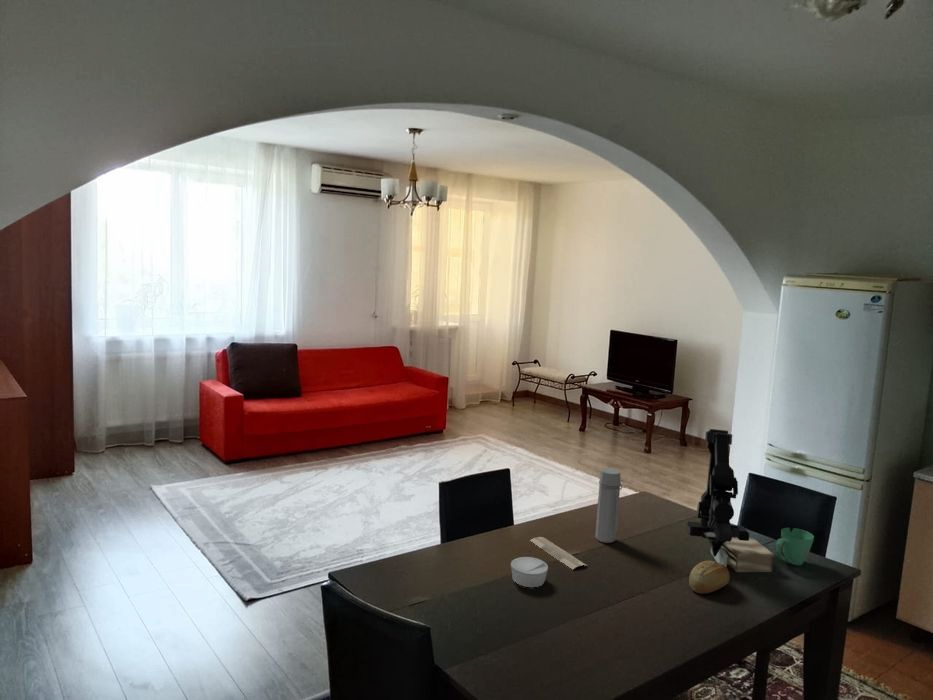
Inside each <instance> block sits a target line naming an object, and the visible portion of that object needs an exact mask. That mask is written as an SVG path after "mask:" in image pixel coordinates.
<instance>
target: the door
mask: <svg viewBox="0 0 933 700" xmlns="http://www.w3.org/2000/svg"><path fill="white" fill-rule="evenodd" d="M709 551H710V553H711V556H712V557H713V558H714V560H715V562H718V563H720V564H721V565H724V566H726V568H728V567H727V566H728V564H727V557H728V555H727V553H726V552H725V550H724V549H723V548H722V546H721V548H720V550H719V551H718V553H717V555H716V556H713V553H712V549H711V547H710V550H709Z"/></svg>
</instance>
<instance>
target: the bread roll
mask: <svg viewBox="0 0 933 700" xmlns="http://www.w3.org/2000/svg"><path fill="white" fill-rule="evenodd" d="M730 576H731V575H730V571H729V569H728V567H726V566H724V565H721V564H720V563H718V562H717V561H714V560H704V561H700V562H699V563H697V564H696V565H695V566H694V567H693V568H692V570H691V571H690V573H689V577H688V584H689V587H690V588H691V590H692V591H693V592H695V593H697V594H701V595H702V594H710V593H713V592H715V591H718V590H719V589H721V588H723V587H725V586H727V584H728V583H729V582H730V578H731V577H730Z"/></svg>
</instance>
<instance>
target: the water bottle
mask: <svg viewBox="0 0 933 700" xmlns="http://www.w3.org/2000/svg"><path fill="white" fill-rule="evenodd" d="M598 484H599V485H598V495H597V496H598V497H597V498H598V500H597V510H596V511H597V512H596V524H595V525H596V526H595V538H596V540H597V541H599V542H601V543H605V544H611V543H614V542H615V541H616V539H617V531H618V525H619V522H618V521H619V503H620V492H621V491H620V490H622V489H623V485H622V484H621V471H620V470H619V469H616V468H609V467H607V468H602V469H601V471H600V476H599V481H598Z"/></svg>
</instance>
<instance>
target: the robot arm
mask: <svg viewBox="0 0 933 700" xmlns="http://www.w3.org/2000/svg"><path fill="white" fill-rule="evenodd" d="M704 439H705V440H704V441H705V443H706V446H707V449H708V451H709V463H708V470H707V479H706V480H707V483H706V490H705V491H704V492H703V493H702V495H701V496H700V501H698V503H697V508H696V516H697V519H700V522H697V521H687V523H686V524H685V530H686V532H687V534H688V535H689V536H691V537H703V538H706V539H707V540H708V541H709V545H710V548H711V549H712V553H713V555H712V557H713V556H716V555H717V553H718V551H719V550H720V548H721V546H722V545H723V544H724V543H725V542H726V541H729V542H730V541H731V540H732V537H733V538H736V537H737V538H738V539H739V540H743V541H749V536H751V535H750V533H749V531H748V530H747V529H746V528H745V526H743V525H734V524H731V522H730V520H732V519H733V518H734V515H735V511H734V508H733V505H732V502H731V500H732V499H734V500H735V499H737V496H738V494H739V488H738V487H739V485H738V484H739V483H738V482H739V481H738V480H737V478H736V477H735V471H734V469H733V468H732V467H731V466H730V454H729V453H730V451H729V447H730V445H733V444H732V443H733V434H732V433H729V431H728V430H725V429H714V428H709V430H708V431H705V438H704Z"/></svg>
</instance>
